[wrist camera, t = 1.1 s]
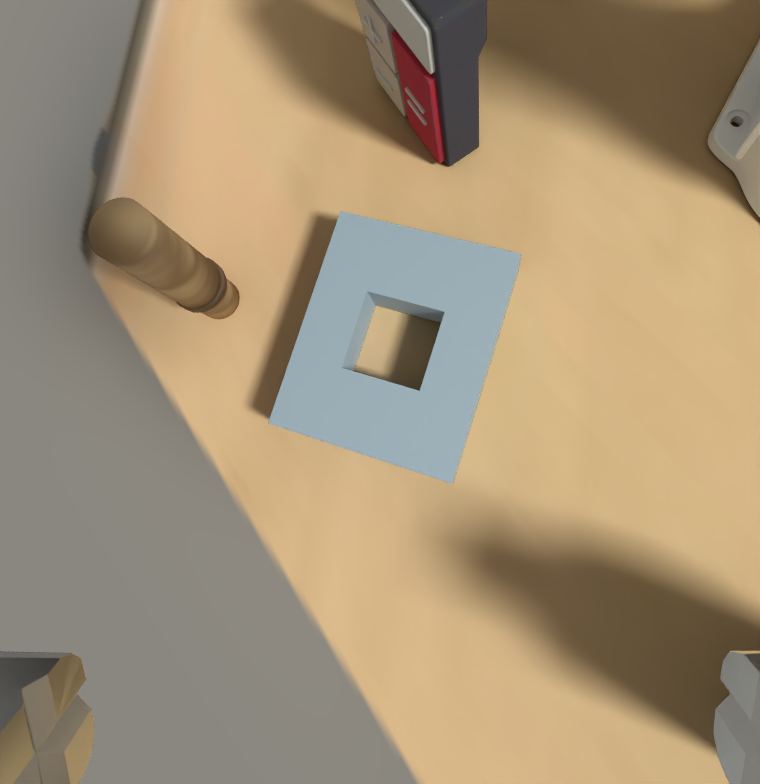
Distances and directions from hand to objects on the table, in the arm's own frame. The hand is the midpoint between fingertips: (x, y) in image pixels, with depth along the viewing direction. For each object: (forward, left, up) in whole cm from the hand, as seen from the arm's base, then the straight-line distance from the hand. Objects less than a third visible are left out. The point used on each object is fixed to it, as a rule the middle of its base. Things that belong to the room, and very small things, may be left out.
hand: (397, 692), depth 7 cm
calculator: (-30, -13, -36) cm, 49 cm away
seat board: (-10, -9, -36) cm, 38 cm away
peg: (-10, -25, -36) cm, 45 cm away
